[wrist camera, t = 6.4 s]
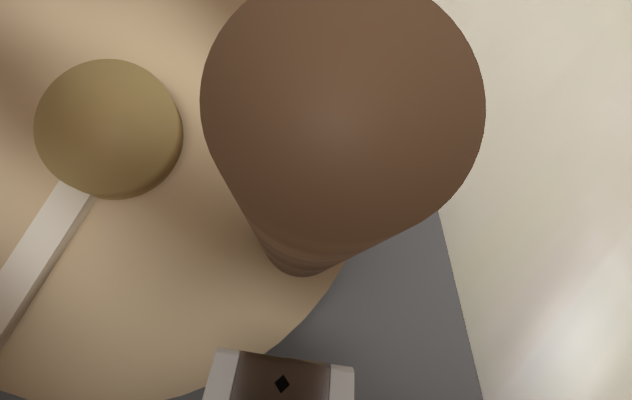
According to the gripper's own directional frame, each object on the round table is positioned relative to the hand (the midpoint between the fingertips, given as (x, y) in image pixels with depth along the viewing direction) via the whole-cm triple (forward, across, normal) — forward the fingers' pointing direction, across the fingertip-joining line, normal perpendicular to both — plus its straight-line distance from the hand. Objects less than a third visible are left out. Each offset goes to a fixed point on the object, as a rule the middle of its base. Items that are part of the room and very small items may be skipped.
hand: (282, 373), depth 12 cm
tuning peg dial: (+7, +7, +2) cm, 10 cm away
